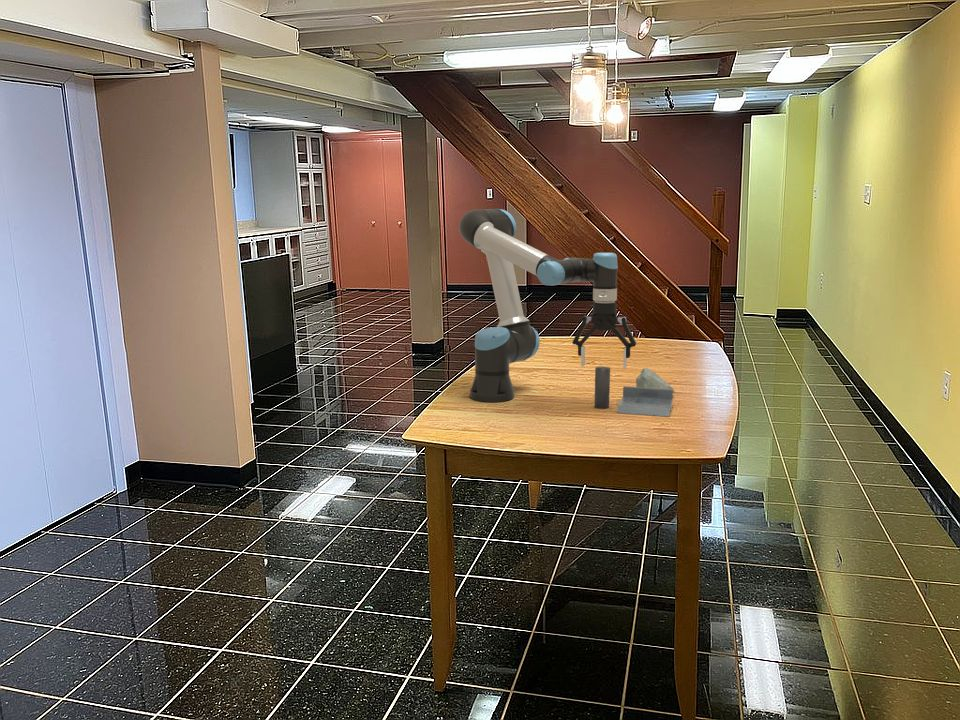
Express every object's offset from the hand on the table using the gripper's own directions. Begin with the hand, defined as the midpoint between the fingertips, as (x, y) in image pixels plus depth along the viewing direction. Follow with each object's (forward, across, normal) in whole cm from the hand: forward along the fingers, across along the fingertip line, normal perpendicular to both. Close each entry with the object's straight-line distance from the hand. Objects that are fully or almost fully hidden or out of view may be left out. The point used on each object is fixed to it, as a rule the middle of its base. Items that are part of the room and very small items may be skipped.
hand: (603, 366), depth 262 cm
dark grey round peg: (+13, 0, 0) cm, 13 cm away
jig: (+14, +14, +1) cm, 19 cm away
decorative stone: (+14, +14, +20) cm, 28 cm away
